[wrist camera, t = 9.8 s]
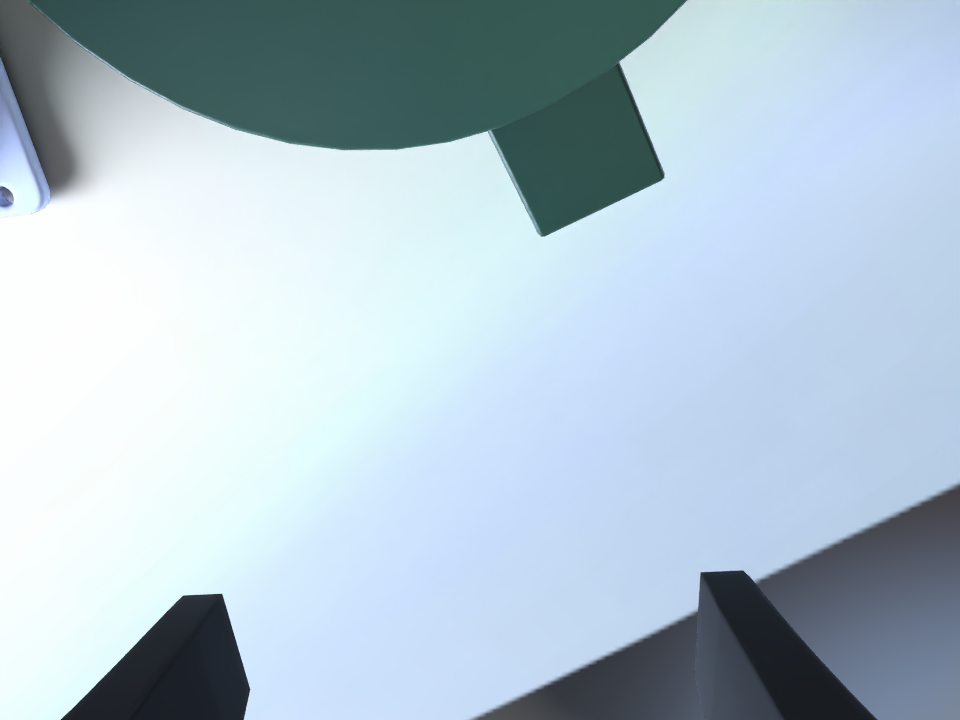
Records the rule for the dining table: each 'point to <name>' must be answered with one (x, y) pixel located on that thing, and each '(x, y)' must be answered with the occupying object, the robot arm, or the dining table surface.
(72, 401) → the dining table surface
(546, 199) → the pot
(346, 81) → the lid
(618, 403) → the dining table surface
